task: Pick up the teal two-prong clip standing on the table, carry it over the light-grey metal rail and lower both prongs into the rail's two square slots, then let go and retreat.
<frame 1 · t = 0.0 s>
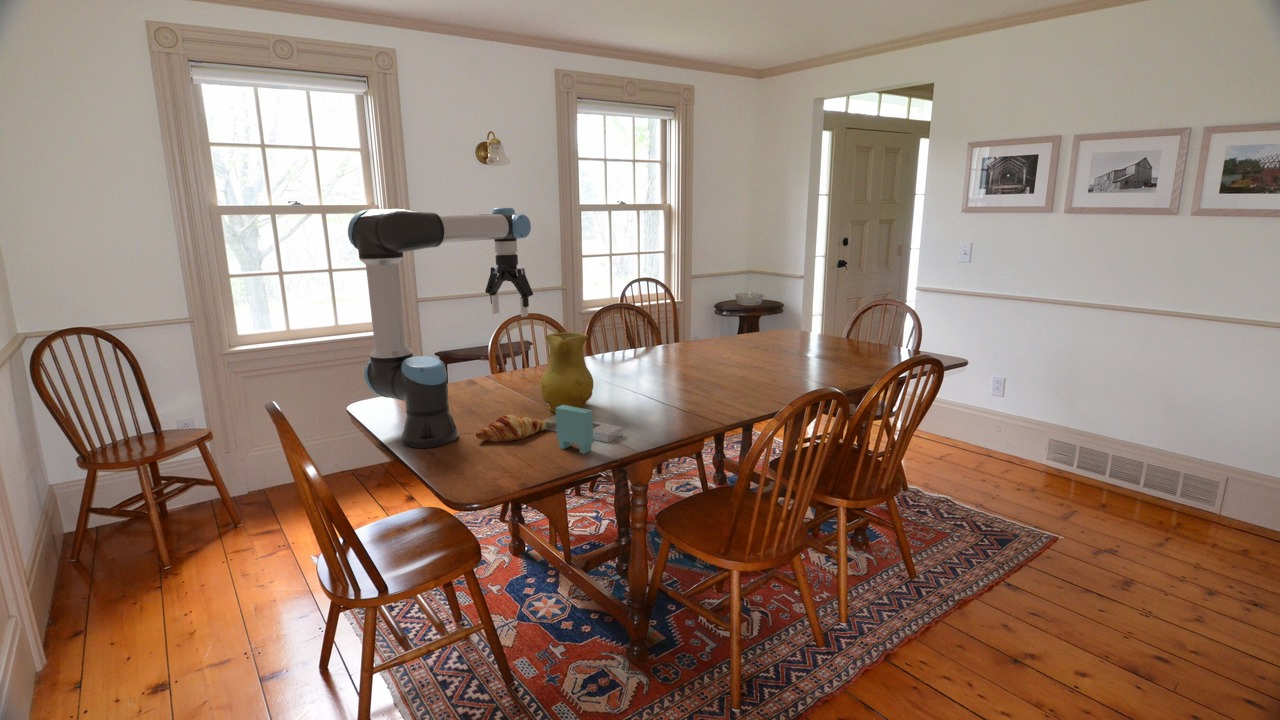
hand: (510, 314, 228), 28 cm above the table, fingers open, 13 cm apart
rail: (581, 431, 191), on the table
clip: (575, 449, 178), on the table
croissant: (512, 437, 189), on the table
pitcher: (569, 408, 215), on the table
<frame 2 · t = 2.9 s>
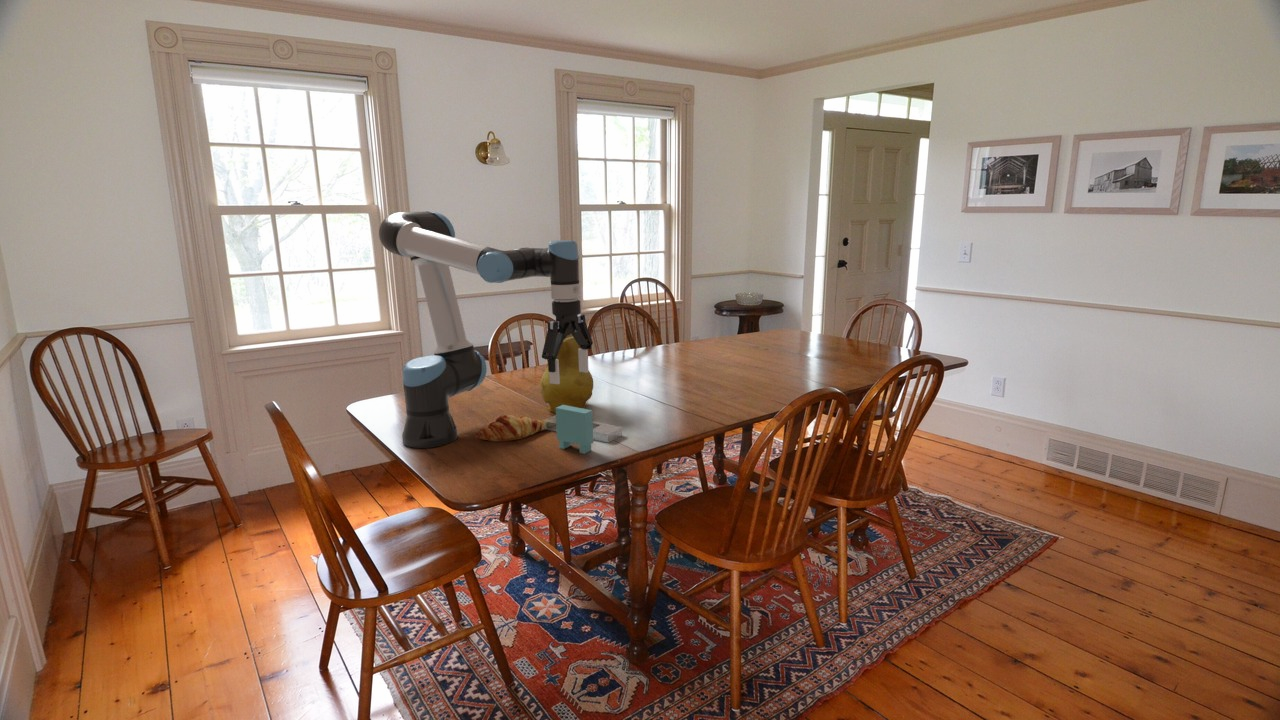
hand: (569, 377, 176), 19 cm above the table, fingers open, 13 cm apart
nothing on the table moved.
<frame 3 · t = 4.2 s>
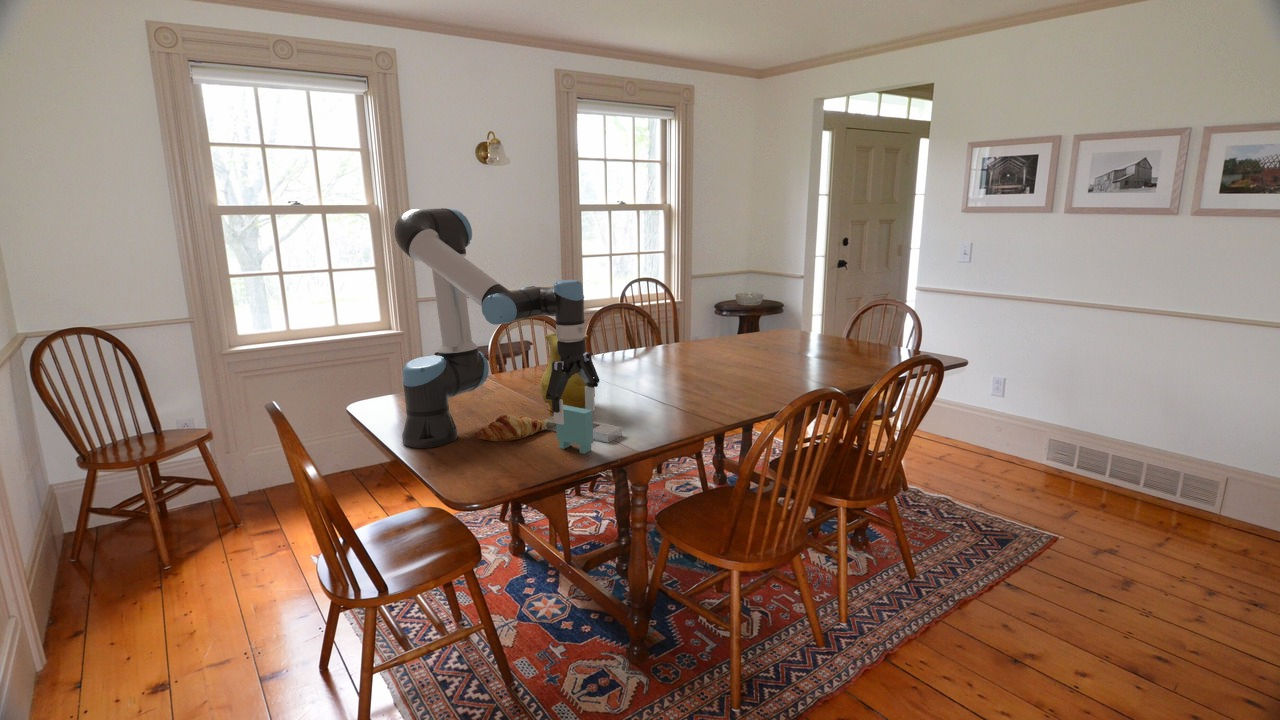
hand: (575, 416, 175), 9 cm above the table, fingers open, 13 cm apart
nothing on the table moved.
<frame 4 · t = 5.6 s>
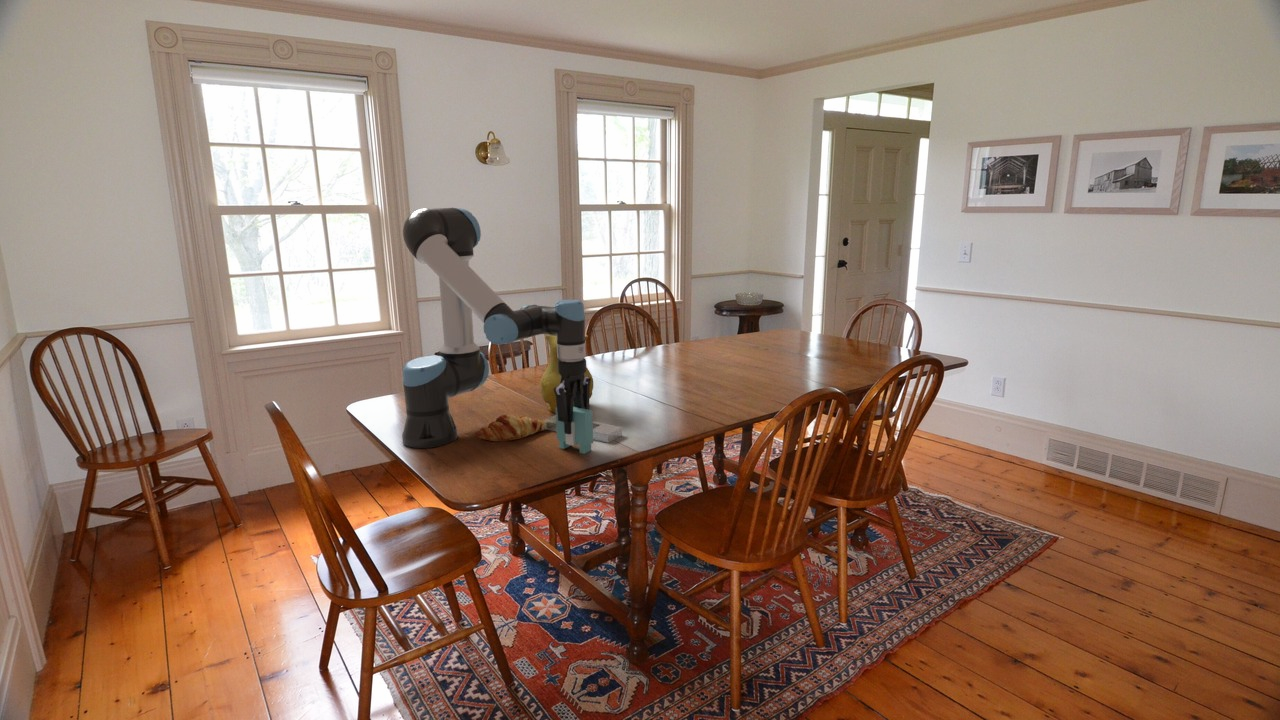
hand: (575, 441, 177), 2 cm above the table, fingers closed on clip, 3 cm apart
clip: (575, 449, 178), on the table, touching gripper
everything else where it was.
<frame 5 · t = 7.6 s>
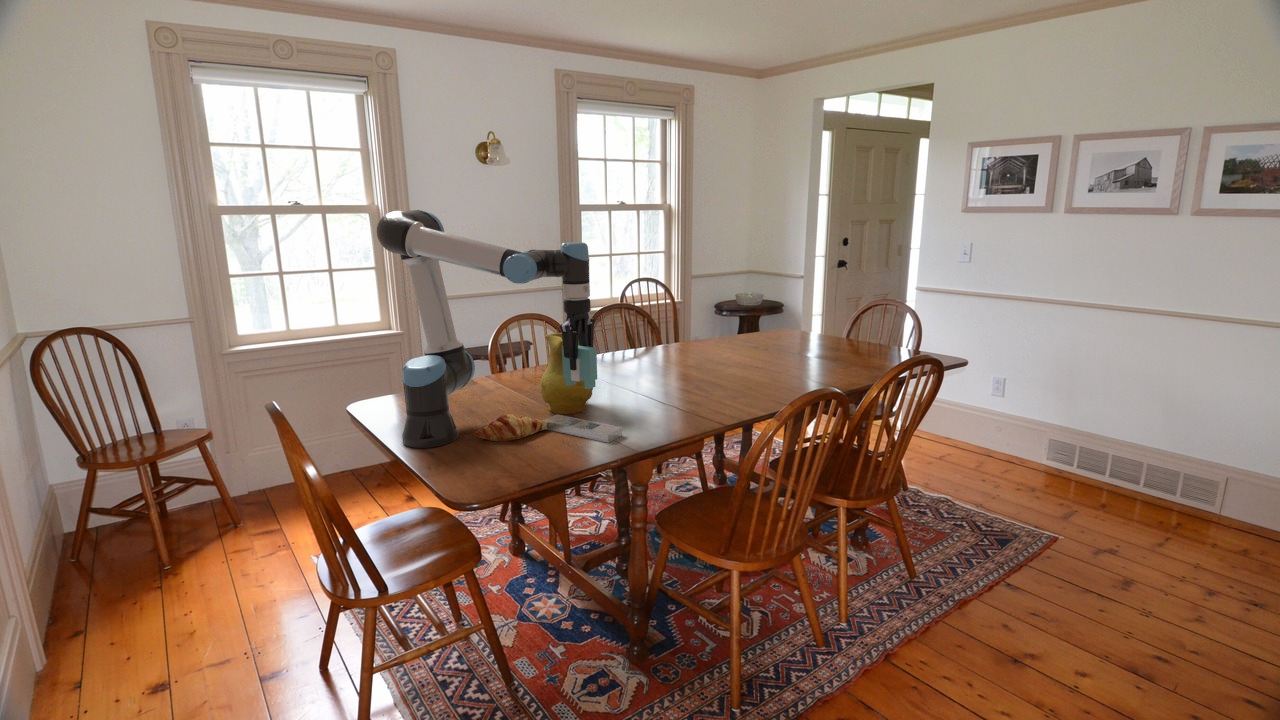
hand: (580, 378, 187), 16 cm above the table, fingers closed on clip, 3 cm apart
clip: (580, 385, 188), point 14 cm above the table, touching gripper
everything else where it was.
when the fingers open (3 cm above the table, at t = 9.5 s): clip drops 1 cm, resting on rail.
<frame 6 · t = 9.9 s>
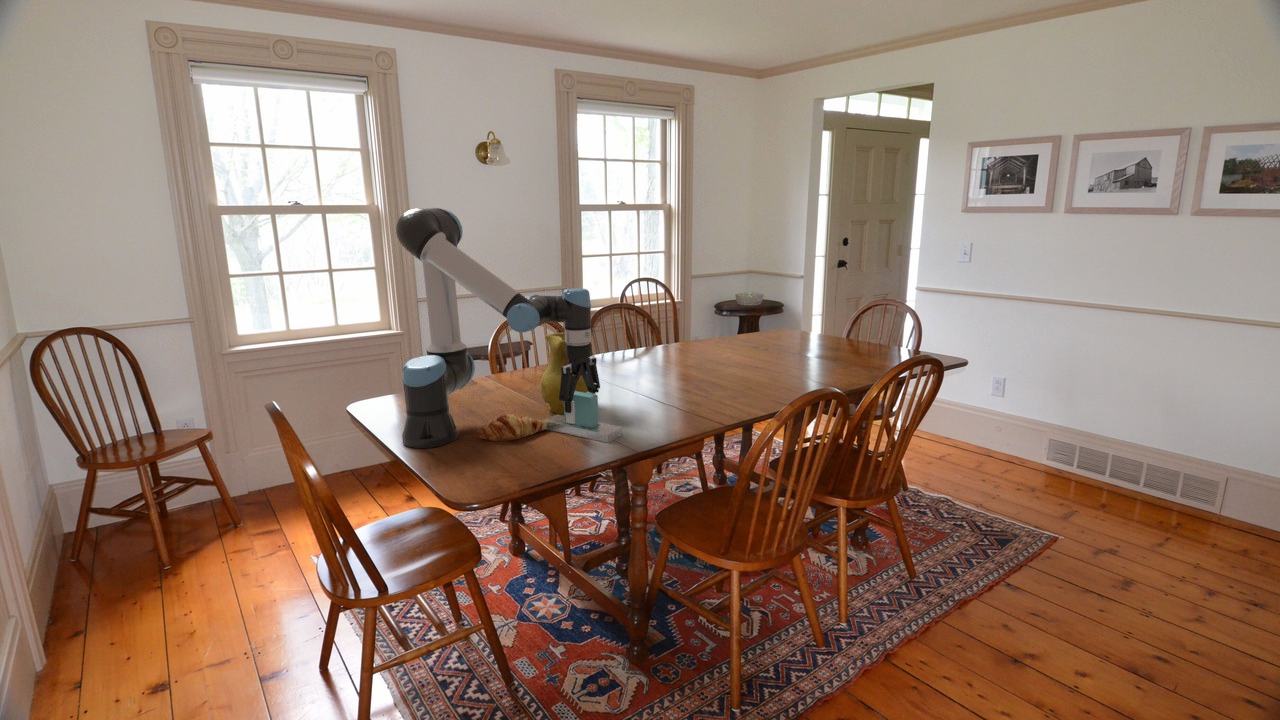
hand: (581, 418, 190), 4 cm above the table, fingers open, 9 cm apart
clip: (581, 431, 191), resting on rail
everything else where it was.
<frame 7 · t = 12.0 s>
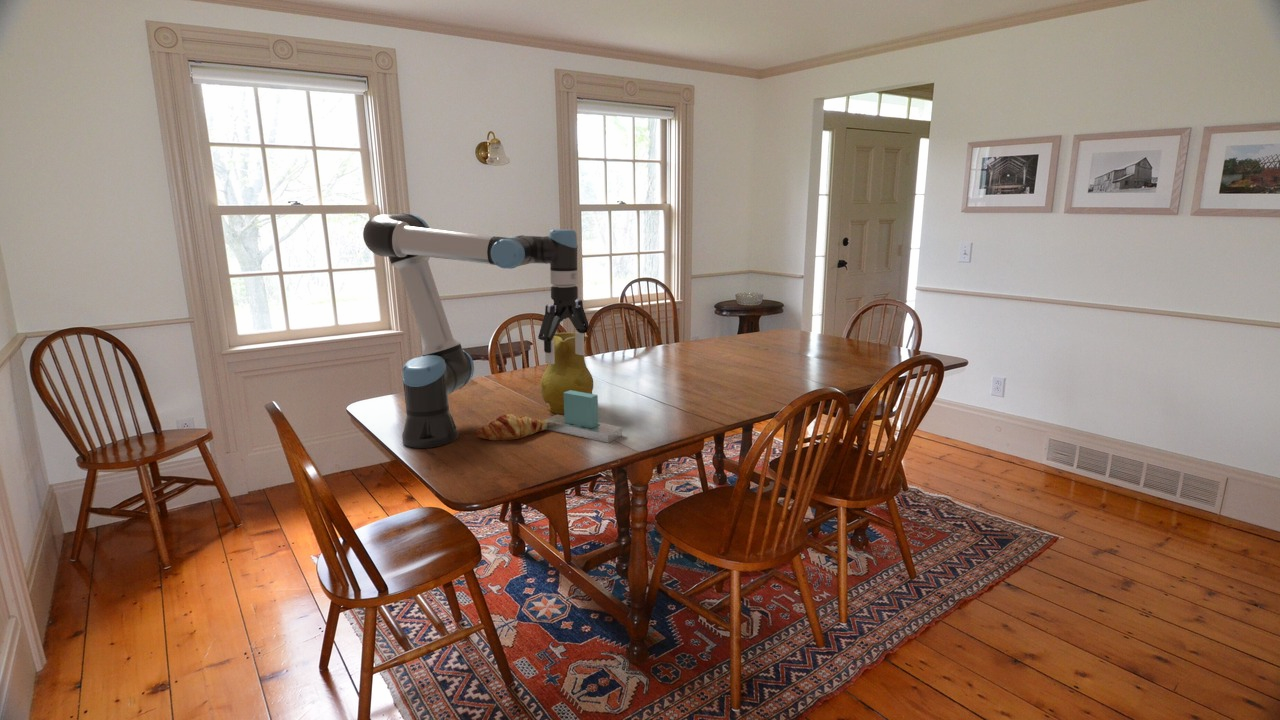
hand: (565, 359, 187), 22 cm above the table, fingers open, 13 cm apart
nothing on the table moved.
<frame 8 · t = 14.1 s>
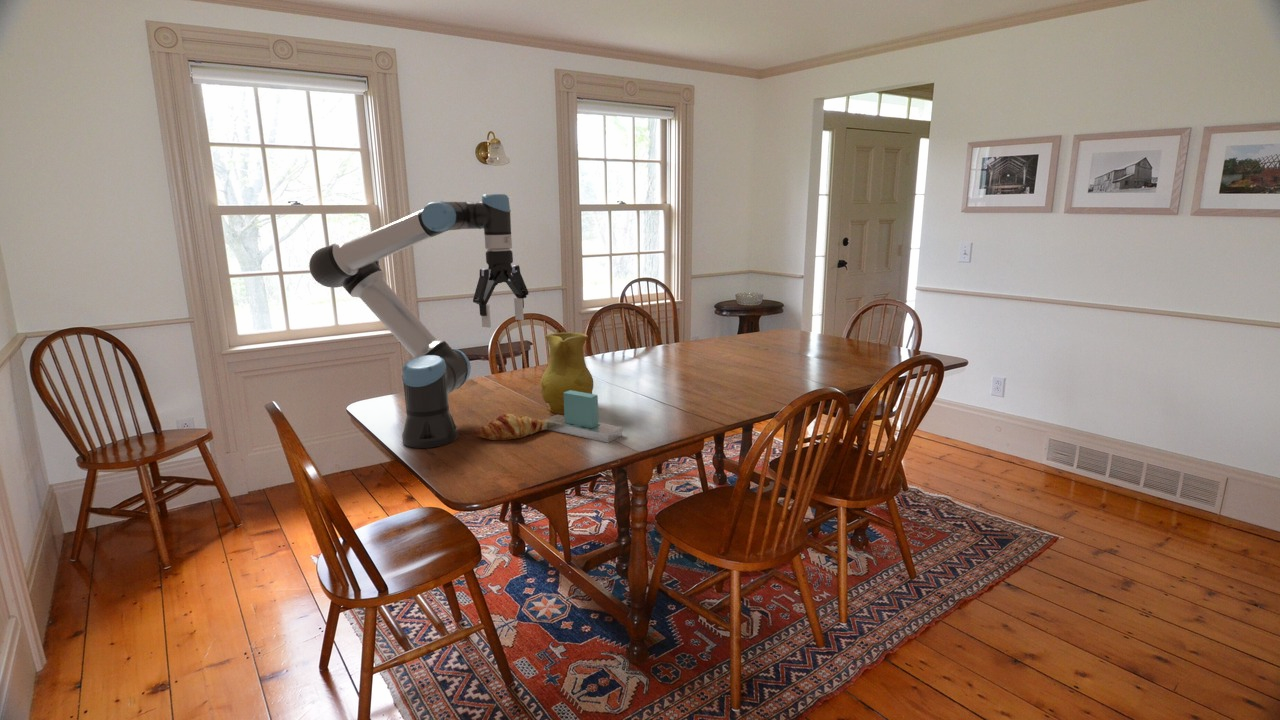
hand: (503, 323, 190), 32 cm above the table, fingers open, 13 cm apart
at the end: clip 0.0 cm off-centre on the rail, point 0.2 cm above the rail's base; clip tilted 0°; the gripper is holding nothing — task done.
